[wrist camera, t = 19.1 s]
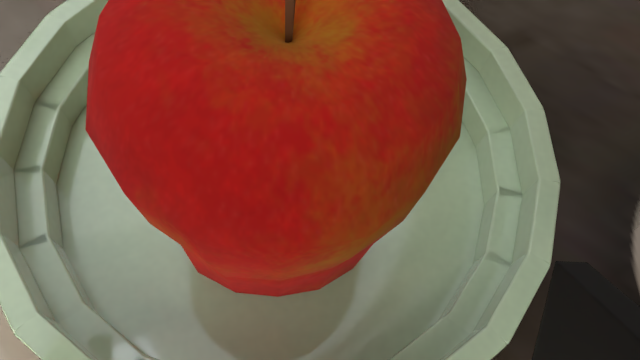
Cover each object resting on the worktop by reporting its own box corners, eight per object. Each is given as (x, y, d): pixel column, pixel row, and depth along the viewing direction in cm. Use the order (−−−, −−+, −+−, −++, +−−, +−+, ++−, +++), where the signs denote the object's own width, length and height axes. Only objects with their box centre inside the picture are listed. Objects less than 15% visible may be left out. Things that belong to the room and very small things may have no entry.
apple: (234, 383, 16) (176, 287, 6) (118, 184, 19) (-64, -125, 9) (434, 244, 19) (636, 11, 9) (307, 87, 22) (345, -235, 11)
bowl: (480, 13, 26) (509, -45, 23) (558, 449, 17) (623, 452, 14) (81, -17, 24) (54, -84, 21) (-58, 445, 16) (-139, 447, 12)
